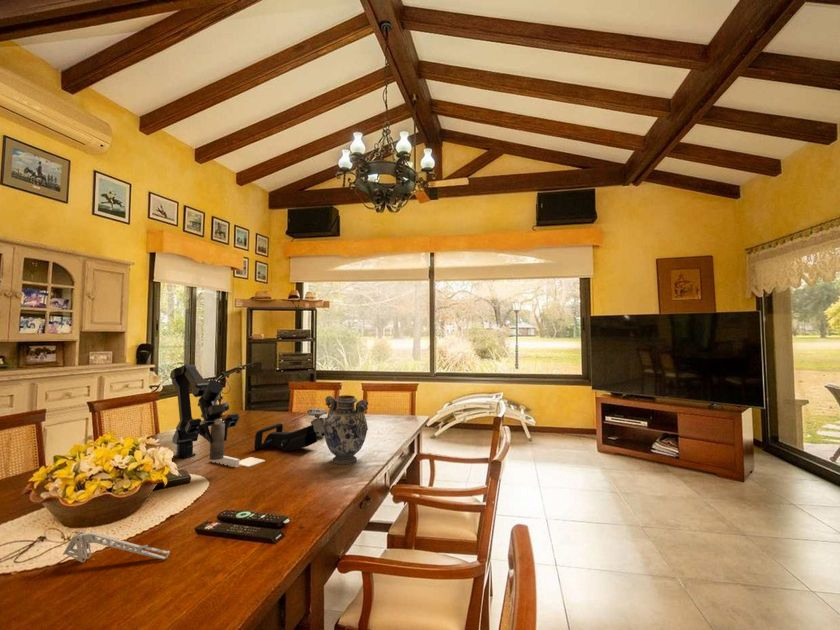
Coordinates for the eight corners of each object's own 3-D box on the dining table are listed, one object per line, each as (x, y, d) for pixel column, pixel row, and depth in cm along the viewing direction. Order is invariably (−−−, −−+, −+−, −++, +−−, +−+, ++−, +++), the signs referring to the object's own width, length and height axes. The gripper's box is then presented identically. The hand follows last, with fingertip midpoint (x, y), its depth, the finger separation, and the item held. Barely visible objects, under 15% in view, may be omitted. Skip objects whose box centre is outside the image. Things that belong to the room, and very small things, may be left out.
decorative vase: (376, 457, 183) (377, 395, 184) (356, 470, 166) (357, 401, 167) (334, 451, 190) (335, 392, 191) (311, 464, 173) (313, 398, 174)
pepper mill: (206, 458, 156) (208, 418, 156) (217, 455, 160) (219, 416, 161) (215, 460, 154) (217, 420, 154) (226, 457, 158) (228, 418, 159)
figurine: (307, 434, 221) (308, 406, 222) (328, 435, 221) (329, 407, 222) (302, 438, 212) (303, 409, 213) (324, 439, 212) (325, 410, 212)
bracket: (72, 548, 99) (93, 511, 100) (152, 586, 100) (173, 548, 101) (61, 555, 96) (84, 517, 97) (144, 594, 97) (166, 555, 98)
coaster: (233, 463, 170) (233, 462, 170) (250, 457, 178) (250, 457, 178) (248, 467, 166) (248, 466, 166) (265, 461, 174) (265, 460, 174)
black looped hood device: (305, 447, 181) (295, 415, 184) (257, 465, 188) (248, 434, 191) (325, 438, 197) (315, 408, 200) (281, 455, 205) (272, 426, 207)
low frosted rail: (211, 461, 172) (211, 454, 172) (214, 460, 173) (214, 453, 174) (236, 467, 166) (236, 460, 166) (239, 466, 167) (239, 459, 167)
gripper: (189, 398, 154) (199, 433, 146) (238, 393, 167) (250, 425, 160) (181, 416, 158) (190, 450, 151) (229, 410, 172) (240, 441, 165)
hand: (218, 441), depth 156 cm, fingers closed on pepper mill, 5 cm apart
